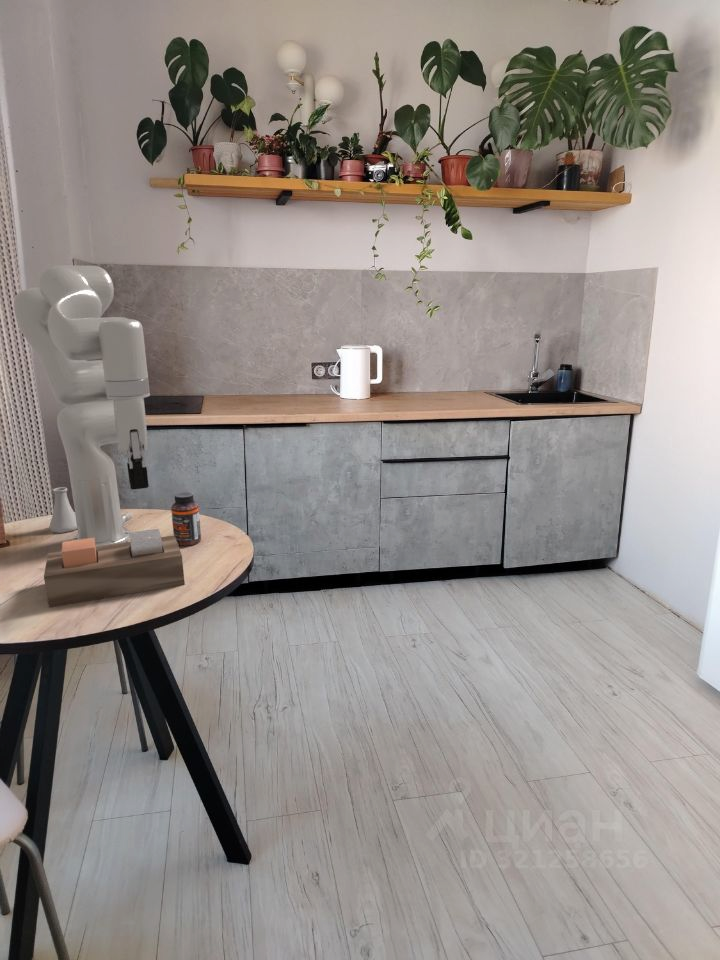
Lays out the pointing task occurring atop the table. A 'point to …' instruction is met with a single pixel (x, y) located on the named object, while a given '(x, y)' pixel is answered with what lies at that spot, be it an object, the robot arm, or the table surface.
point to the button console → (113, 573)
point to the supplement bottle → (186, 519)
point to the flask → (62, 513)
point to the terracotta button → (79, 552)
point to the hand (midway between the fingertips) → (138, 484)
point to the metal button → (145, 542)
